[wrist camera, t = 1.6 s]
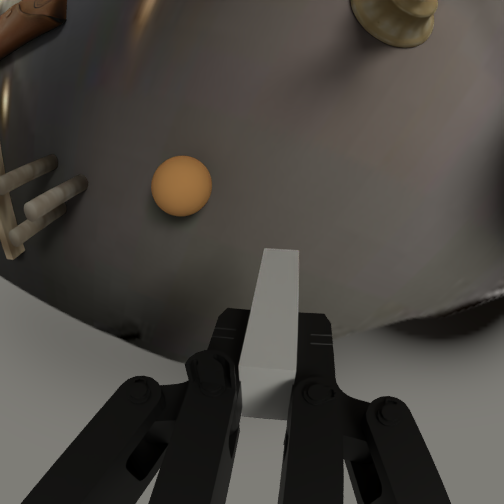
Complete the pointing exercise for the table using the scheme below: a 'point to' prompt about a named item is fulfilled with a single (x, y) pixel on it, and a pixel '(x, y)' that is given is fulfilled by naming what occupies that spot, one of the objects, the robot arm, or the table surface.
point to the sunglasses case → (29, 22)
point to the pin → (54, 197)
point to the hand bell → (397, 20)
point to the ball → (181, 186)
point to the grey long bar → (7, 221)
